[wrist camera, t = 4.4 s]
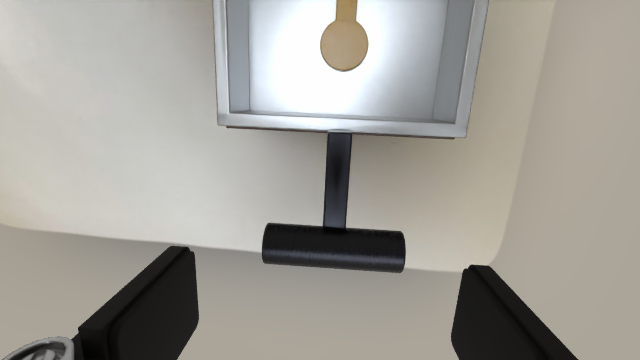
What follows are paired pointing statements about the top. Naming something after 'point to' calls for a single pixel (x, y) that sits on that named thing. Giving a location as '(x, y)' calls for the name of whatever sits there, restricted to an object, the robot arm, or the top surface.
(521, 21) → the top surface
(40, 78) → the top surface
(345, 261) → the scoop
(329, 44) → the spoon
